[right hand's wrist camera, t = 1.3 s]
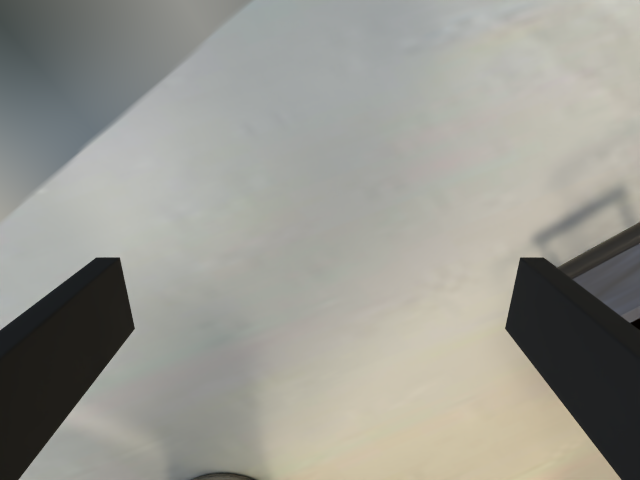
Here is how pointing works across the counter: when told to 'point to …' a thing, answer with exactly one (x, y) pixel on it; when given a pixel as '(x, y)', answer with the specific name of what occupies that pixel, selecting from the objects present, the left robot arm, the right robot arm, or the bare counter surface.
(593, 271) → the drawer
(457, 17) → the counter surface
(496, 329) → the counter surface
